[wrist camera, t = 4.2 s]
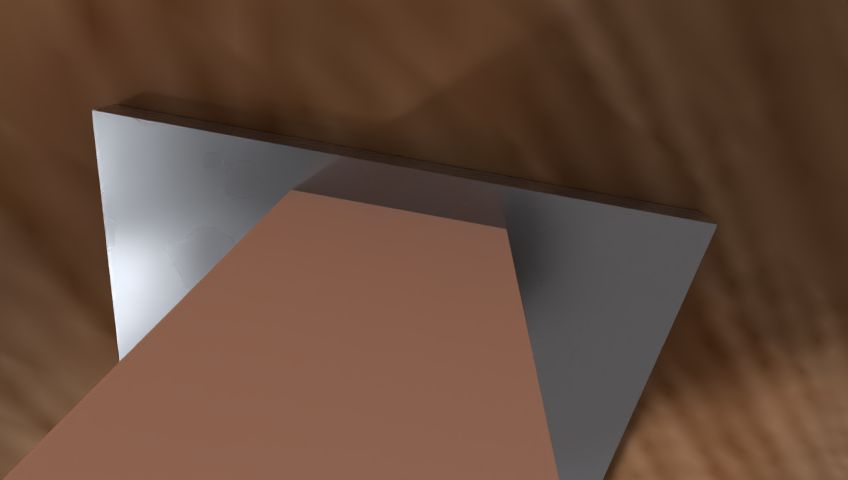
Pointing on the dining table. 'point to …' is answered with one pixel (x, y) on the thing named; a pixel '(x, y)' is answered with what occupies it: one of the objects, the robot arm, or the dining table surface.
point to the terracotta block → (324, 362)
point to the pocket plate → (427, 194)
